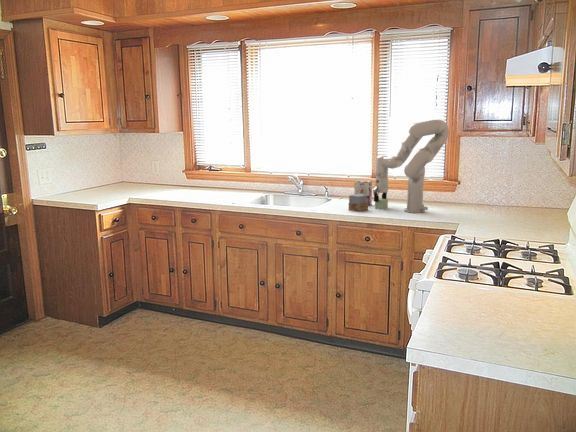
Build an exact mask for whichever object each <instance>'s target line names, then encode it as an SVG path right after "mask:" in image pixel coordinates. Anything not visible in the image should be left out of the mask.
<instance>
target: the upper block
mask: <svg viewBox="0 0 576 432" xmlns="http://www.w3.org/2000/svg"><path fill="white" fill-rule="evenodd" d="M349 203H353V204H363V203H367V195H361V194H355V193H354V194H349V195H348V204H349Z"/></svg>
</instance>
